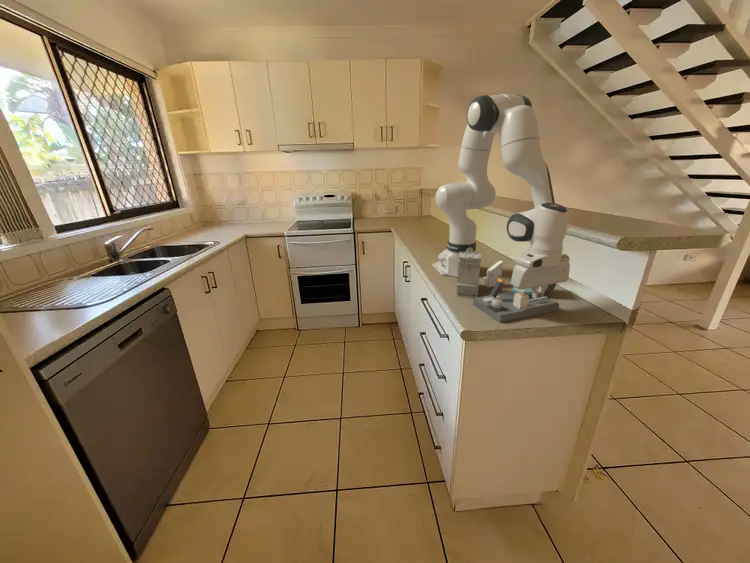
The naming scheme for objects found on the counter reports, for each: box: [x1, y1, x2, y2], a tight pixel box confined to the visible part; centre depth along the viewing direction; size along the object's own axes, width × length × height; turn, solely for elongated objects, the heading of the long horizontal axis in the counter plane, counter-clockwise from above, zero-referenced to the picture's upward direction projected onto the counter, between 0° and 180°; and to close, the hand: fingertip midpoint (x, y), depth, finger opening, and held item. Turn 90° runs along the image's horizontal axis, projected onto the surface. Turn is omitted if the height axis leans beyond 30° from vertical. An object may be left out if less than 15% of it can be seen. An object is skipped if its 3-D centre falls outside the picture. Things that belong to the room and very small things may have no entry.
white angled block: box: [482, 260, 504, 288], centre depth 124 cm, size 4×10×9 cm, turn 110°
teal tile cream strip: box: [511, 287, 532, 295], centre depth 108 cm, size 8×5×1 cm, turn 108°
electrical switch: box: [537, 283, 558, 298], centre depth 114 cm, size 9×5×9 cm, turn 173°
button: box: [491, 298, 503, 309], centre depth 99 cm, size 3×3×2 cm
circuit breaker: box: [455, 251, 482, 298], centre depth 118 cm, size 8×14×15 cm, turn 163°
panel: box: [472, 290, 560, 323], centre depth 104 cm, size 14×23×3 cm, turn 108°
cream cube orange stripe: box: [513, 293, 529, 309], centre depth 99 cm, size 3×3×4 cm
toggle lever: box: [489, 278, 506, 298], centre depth 104 cm, size 2×2×6 cm
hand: (537, 297), depth 102 cm, fingers closed
